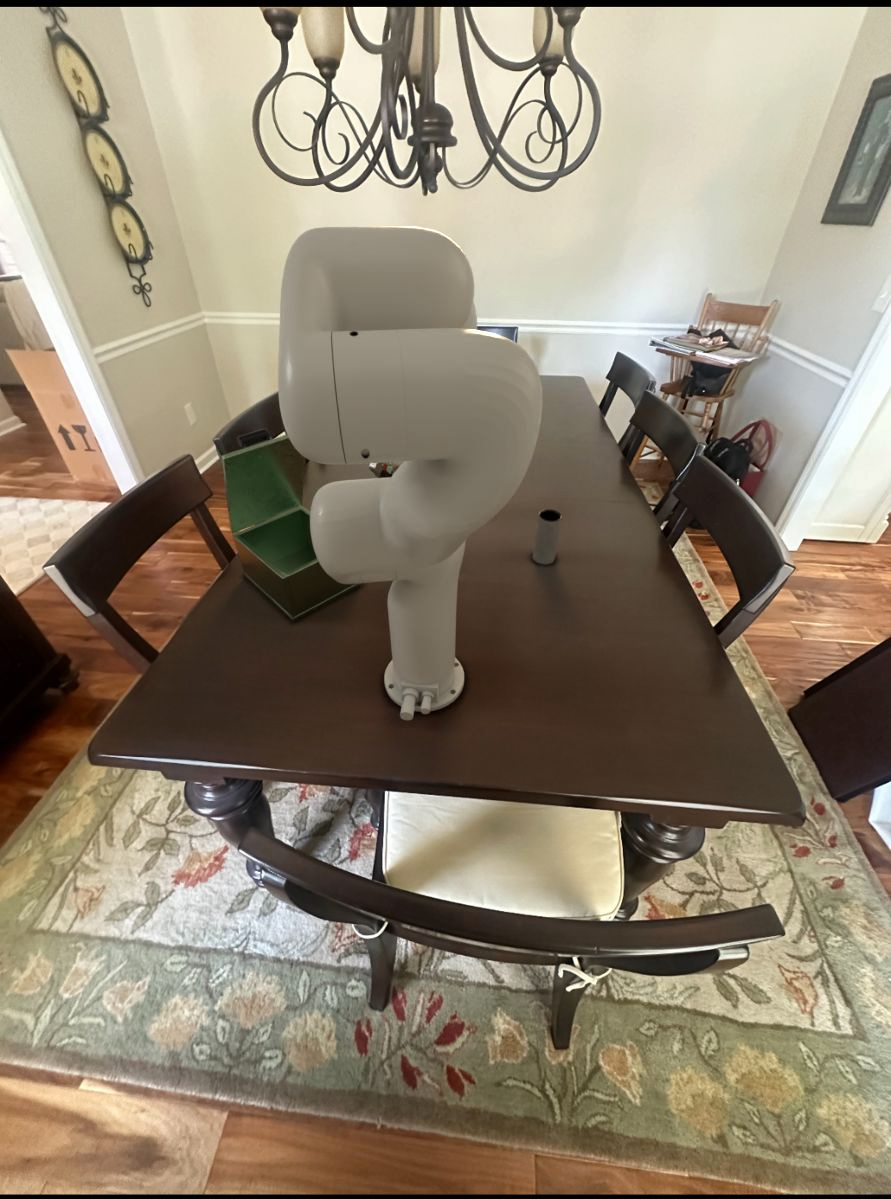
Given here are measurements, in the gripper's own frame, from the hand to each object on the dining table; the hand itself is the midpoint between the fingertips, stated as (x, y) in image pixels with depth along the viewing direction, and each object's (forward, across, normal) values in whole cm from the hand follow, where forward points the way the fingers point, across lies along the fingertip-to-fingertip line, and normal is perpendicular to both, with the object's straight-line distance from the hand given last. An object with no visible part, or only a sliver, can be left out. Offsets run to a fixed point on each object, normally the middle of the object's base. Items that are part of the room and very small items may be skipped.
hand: (404, 491), depth 88 cm
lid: (+1, +10, -22) cm, 24 cm away
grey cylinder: (+20, -21, +19) cm, 35 cm away
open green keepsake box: (+20, +11, -18) cm, 29 cm away
